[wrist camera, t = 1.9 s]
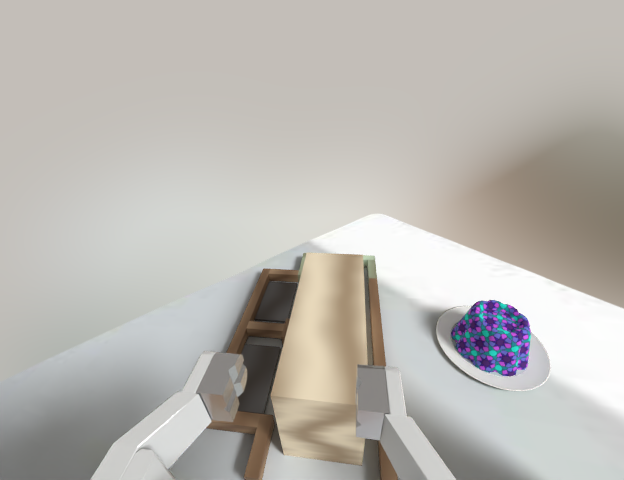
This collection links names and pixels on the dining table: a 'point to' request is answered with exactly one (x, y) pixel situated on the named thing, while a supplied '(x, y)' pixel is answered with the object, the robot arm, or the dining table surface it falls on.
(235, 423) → the frame
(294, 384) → the beige rectangular block
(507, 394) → the dining table surface
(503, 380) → the pudding
